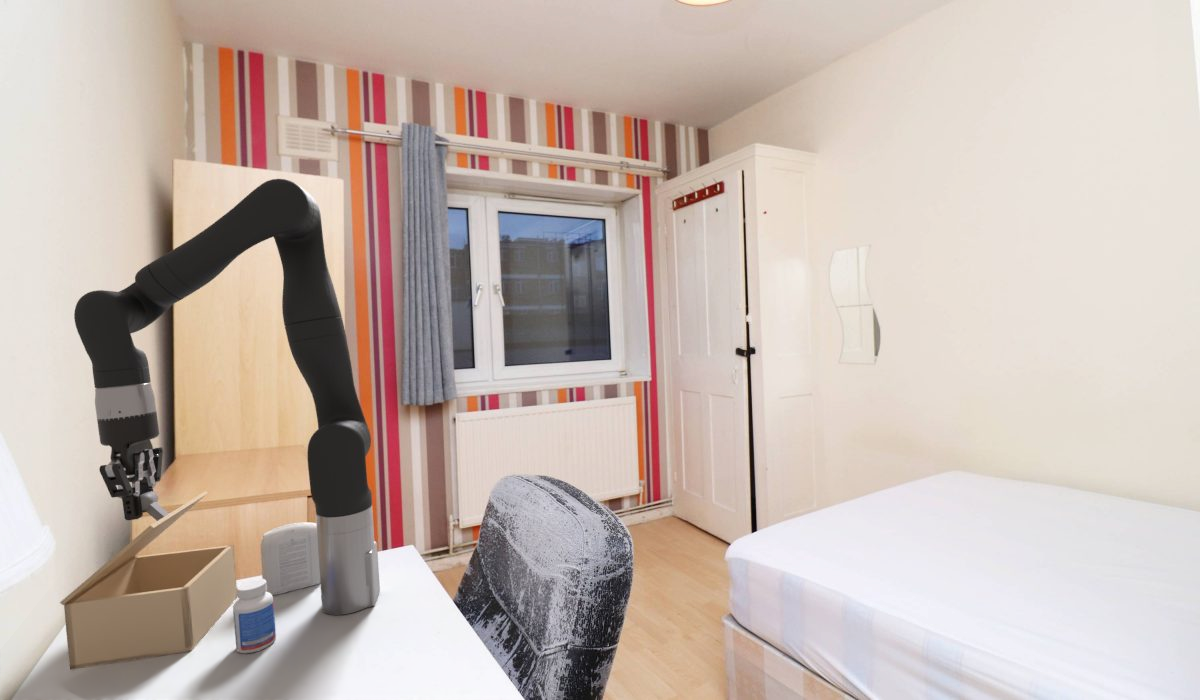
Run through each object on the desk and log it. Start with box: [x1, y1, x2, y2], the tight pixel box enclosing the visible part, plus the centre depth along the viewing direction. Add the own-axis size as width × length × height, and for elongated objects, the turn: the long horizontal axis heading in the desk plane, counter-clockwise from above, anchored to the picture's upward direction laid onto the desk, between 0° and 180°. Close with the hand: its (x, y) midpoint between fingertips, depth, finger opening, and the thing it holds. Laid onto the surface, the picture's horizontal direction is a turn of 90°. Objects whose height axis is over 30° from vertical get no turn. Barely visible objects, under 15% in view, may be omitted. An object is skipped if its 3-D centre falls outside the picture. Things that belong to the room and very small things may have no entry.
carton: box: [63, 544, 238, 670], centre depth 94 cm, size 16×18×10 cm
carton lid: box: [59, 490, 209, 606], centre depth 93 cm, size 16×18×6 cm
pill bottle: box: [232, 578, 277, 654], centre depth 88 cm, size 6×5×10 cm
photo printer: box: [260, 521, 321, 596], centre depth 108 cm, size 10×4×12 cm, turn 123°
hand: (140, 514), depth 93 cm, fingers closed on carton lid, 3 cm apart
